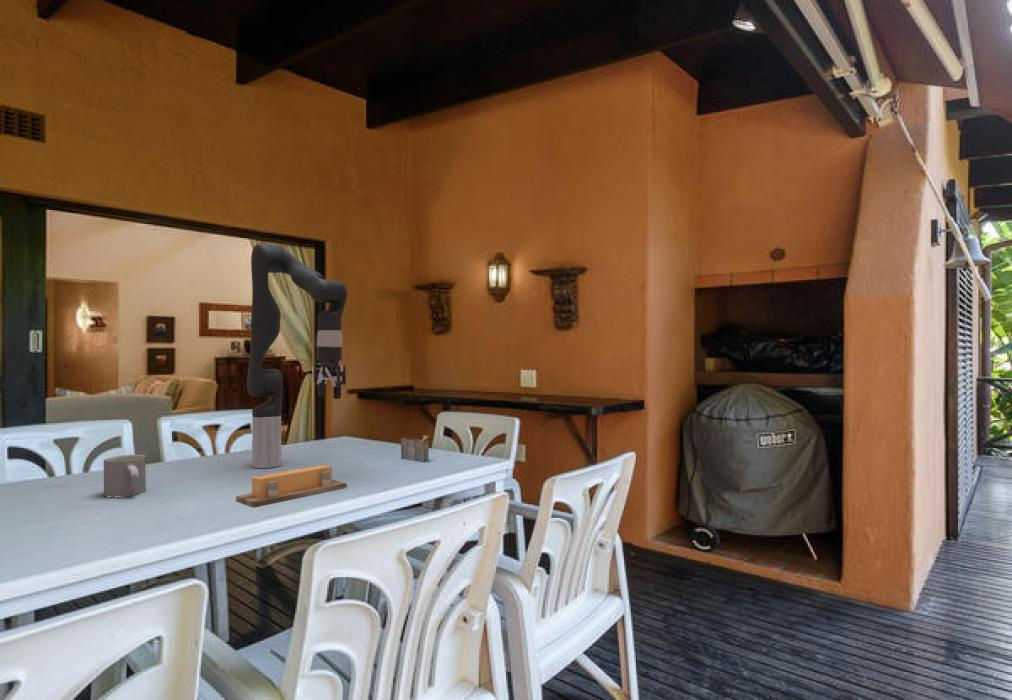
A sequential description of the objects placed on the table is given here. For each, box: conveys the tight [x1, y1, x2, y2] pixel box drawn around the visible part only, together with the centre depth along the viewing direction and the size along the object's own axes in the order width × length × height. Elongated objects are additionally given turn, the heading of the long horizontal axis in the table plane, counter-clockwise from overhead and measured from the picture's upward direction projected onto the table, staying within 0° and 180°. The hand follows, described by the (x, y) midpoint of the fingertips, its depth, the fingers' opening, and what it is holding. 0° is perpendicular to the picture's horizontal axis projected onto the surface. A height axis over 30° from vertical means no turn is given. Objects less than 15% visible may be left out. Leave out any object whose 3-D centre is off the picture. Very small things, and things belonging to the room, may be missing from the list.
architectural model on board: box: [400, 434, 430, 464], centre depth 217 cm, size 11×3×10 cm, turn 53°
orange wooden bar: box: [251, 464, 333, 498], centre depth 169 cm, size 4×22×5 cm, turn 139°
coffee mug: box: [103, 454, 147, 497], centre depth 168 cm, size 13×10×10 cm
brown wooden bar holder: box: [235, 471, 348, 508], centre depth 169 cm, size 10×28×5 cm, turn 139°
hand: (329, 397), depth 186 cm, fingers open, 8 cm apart
